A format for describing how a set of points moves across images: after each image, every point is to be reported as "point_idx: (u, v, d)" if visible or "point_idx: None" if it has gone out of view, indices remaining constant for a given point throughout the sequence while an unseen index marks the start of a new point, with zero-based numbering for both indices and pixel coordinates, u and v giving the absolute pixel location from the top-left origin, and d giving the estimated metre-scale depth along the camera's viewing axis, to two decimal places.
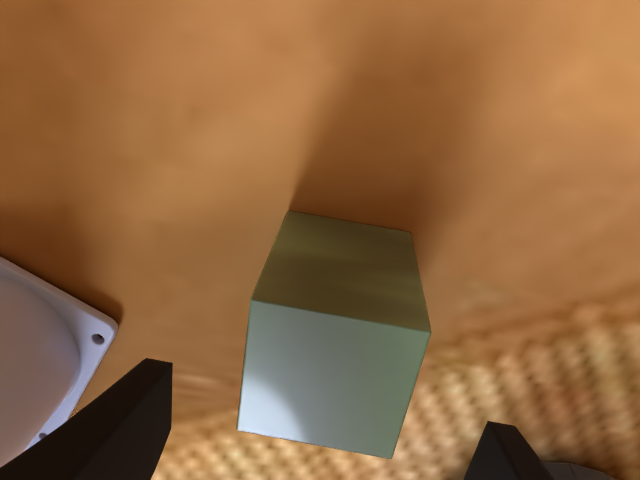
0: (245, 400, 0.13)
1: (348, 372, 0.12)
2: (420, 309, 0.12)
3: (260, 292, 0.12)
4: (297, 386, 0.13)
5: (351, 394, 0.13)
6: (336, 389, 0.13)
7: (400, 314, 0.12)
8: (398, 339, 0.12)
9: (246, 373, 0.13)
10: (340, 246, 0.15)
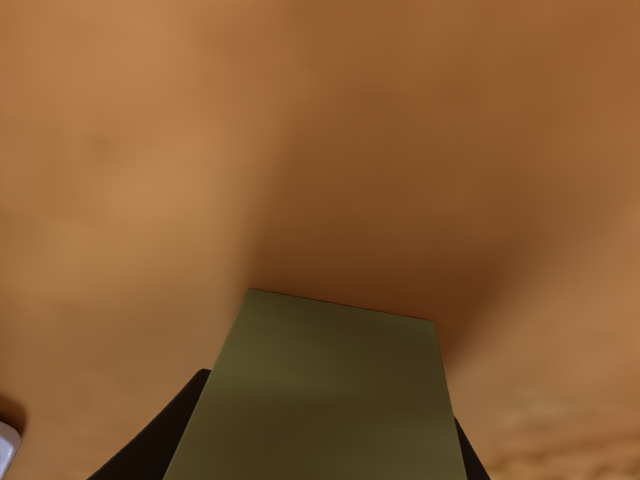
0: None
1: None
2: None
3: None
4: None
5: None
6: None
7: None
8: None
9: None
10: (323, 362, 0.09)
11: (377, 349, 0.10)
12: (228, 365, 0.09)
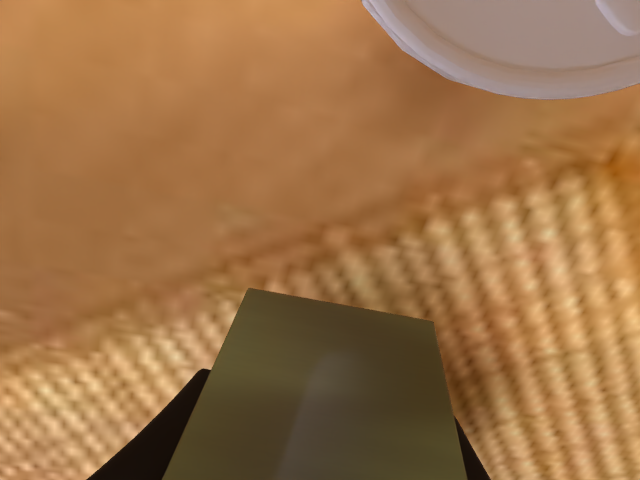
0: None
1: None
2: None
3: None
4: None
5: None
6: None
7: None
8: None
9: None
10: (323, 361, 0.09)
11: (377, 349, 0.10)
12: (228, 365, 0.09)
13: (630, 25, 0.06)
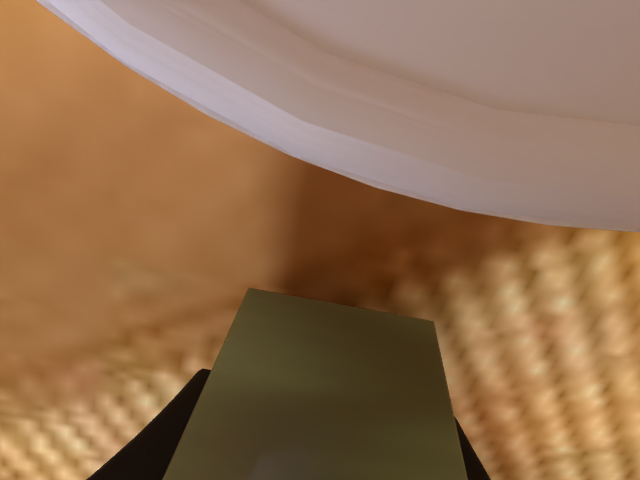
0: None
1: None
2: None
3: None
4: None
5: None
6: None
7: None
8: None
9: None
10: (323, 361, 0.09)
11: (377, 348, 0.10)
12: (228, 364, 0.09)
13: None
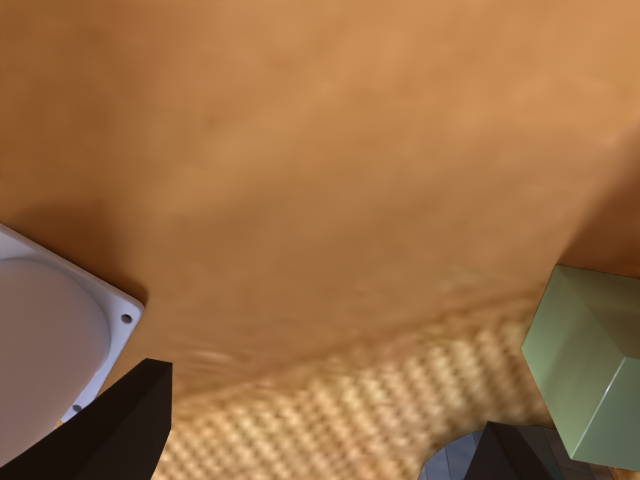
0: (588, 436, 0.16)
1: None
2: None
3: (626, 350, 0.15)
4: (639, 425, 0.15)
5: None
6: None
7: None
8: None
9: (597, 414, 0.15)
10: (630, 300, 0.18)
11: None
12: (590, 300, 0.17)
13: None
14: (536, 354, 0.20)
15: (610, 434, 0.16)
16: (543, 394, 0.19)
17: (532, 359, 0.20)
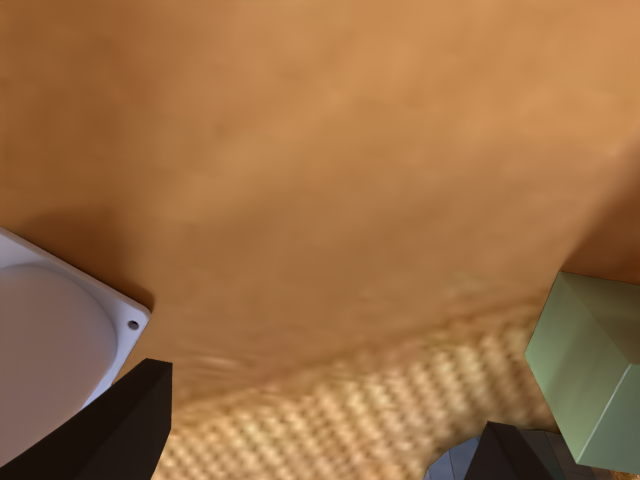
0: (593, 441, 0.16)
1: None
2: None
3: (631, 357, 0.15)
4: None
5: None
6: None
7: None
8: None
9: (603, 420, 0.16)
10: (633, 307, 0.18)
11: None
12: (593, 307, 0.18)
13: None
14: (540, 359, 0.20)
15: (615, 439, 0.16)
16: (547, 399, 0.19)
17: (536, 364, 0.21)
